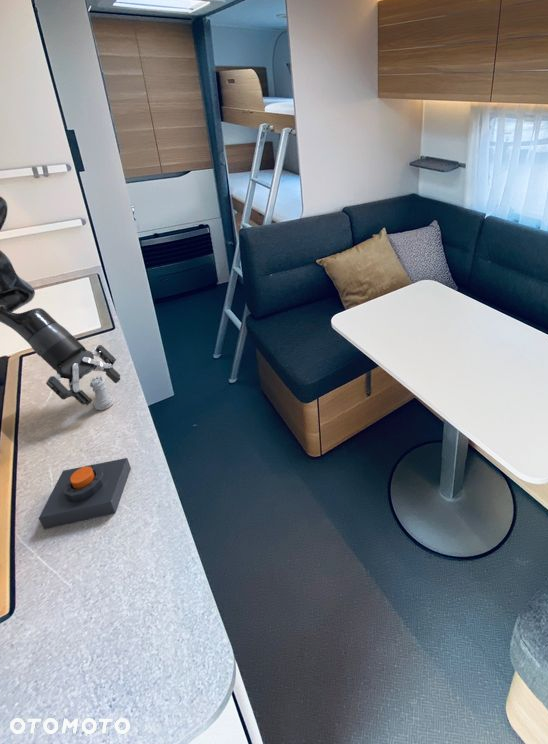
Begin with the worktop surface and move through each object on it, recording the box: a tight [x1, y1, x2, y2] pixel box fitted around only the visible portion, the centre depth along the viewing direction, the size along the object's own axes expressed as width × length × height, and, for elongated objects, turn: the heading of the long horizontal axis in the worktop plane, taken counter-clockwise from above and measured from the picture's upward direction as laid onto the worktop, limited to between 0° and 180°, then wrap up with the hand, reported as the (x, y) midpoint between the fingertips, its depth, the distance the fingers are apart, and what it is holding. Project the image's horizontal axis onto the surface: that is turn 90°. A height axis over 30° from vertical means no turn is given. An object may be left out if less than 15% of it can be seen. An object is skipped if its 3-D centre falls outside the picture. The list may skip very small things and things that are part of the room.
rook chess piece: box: [89, 376, 116, 411], centre depth 103 cm, size 4×4×8 cm
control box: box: [38, 457, 132, 530], centre depth 81 cm, size 12×10×5 cm
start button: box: [70, 465, 95, 489], centre depth 79 cm, size 4×4×2 cm
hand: (104, 391), depth 102 cm, fingers open, 7 cm apart
